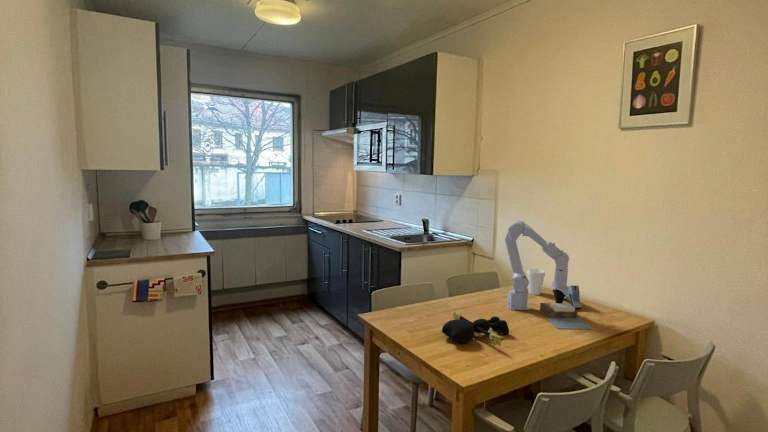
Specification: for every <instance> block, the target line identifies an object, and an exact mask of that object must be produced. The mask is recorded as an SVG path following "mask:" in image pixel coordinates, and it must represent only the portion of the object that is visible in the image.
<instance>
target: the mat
mask: <svg viewBox="0 0 768 432" xmlns="http://www.w3.org/2000/svg"><path fill="white" fill-rule="evenodd" d="M545 319H546V320H547V321H548V322H550V323H551V324H552V325H553V327H555V328H556V329H557V330H593V329H594V328H593V327H591V326H590V325H589V324H588V323H586V322H585V321H584V320H583V319H581V318H580V317H577V318H547V317H545Z"/></svg>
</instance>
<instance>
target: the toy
mask: <svg viewBox="0 0 768 432" xmlns="http://www.w3.org/2000/svg"><path fill="white" fill-rule="evenodd" d="M490 329H492V330H493V331H498V333H499V334H500V335H504V336H507V335H509V333H510V329H509V326H508V322H507V321H506V320H504V319H500V317H499V316H496V315H495V316H492V317H490V319H485V318H478V319H476V320H473V321H471V320H469V319H467V318H465V317H464V316H463V315H462V314H461V313H459V312H457V311H455V310H454V311H453V313H452V320H451V319H450V320H449V321H447V322H445V324H444V325H443V326H442V328H441V333H442V334H444V335H445V336H446V337H448V338H449V339H451V340H452V341H454V342H456V343H458V344H459V343H460V344H466V343H469V342H471V341H472V340H473V339H474V337H475V335H476V336H477V337H480V338H483V336H484V335H485V336H486V337H488V338H489V340H490V341H491V343H492V346H493V347H496V345H497V346H499V347H500V346H501V345H502V344H501V343H502V340H501V339H502V337H501V336H500V335H498V334H496V333H494V332H489V331H490ZM483 334H484V335H483Z"/></svg>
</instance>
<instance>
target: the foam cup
mask: <svg viewBox="0 0 768 432" xmlns="http://www.w3.org/2000/svg"><path fill="white" fill-rule="evenodd" d="M526 273H527V274H526V275H527V278H528V280H529V285H528V286H527V288H528V294H530V295H535V296H536V295H537V296H538V295H541V293H542V288H543V285H544V279H545V276H546V271H545V270H544V269H539V268H528V269H527V271H526Z"/></svg>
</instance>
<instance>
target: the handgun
mask: <svg viewBox="0 0 768 432" xmlns="http://www.w3.org/2000/svg"><path fill="white" fill-rule="evenodd" d="M567 286H568V287H569V288H567V289H568V291H569V295H566V296H565V297H564V299H563V300H569V304H570V305H572V306H573V307H575V309H576V310H579V309H582V308H583V305H582V303H581V299H580V298H581V297H580V295H581V294H580V287H579V285H573V284H571V285H567Z"/></svg>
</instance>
